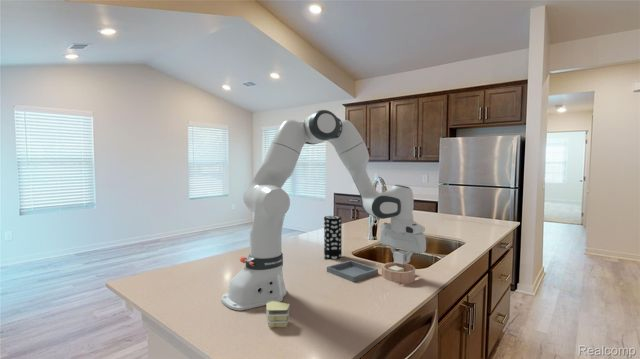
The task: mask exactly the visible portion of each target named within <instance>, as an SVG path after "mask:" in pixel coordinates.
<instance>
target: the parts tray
mask: <svg viewBox="0 0 640 359" xmlns="http://www.w3.org/2000/svg"><path fill="white" fill-rule="evenodd" d="M326 273H329V274H332V275H333V276H337V277H339V278H341V279H344V280H347V281H349V282H352V283H355V282H358V281H361V280H364V279H367V278H370V277H373V276H376V275H378V274H379V269H378V268H376V267H373V266H370V265H367V264H365V263H364V264H363V263H362V262H361V263H360V262H358V261H354V260H347V261H343V262H339V263H336V264H333V265H329V266H326Z"/></svg>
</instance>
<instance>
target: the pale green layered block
mask: <svg viewBox="0 0 640 359" xmlns="http://www.w3.org/2000/svg"><path fill="white" fill-rule="evenodd" d="M290 305H291V304H290V303H285V302H282V301H281V302H276V301H271V302H268V303H267V305H265V306H266V312H265V313H266V322H267V327H268V328H271V327H273V328H287V326H288V324H289V319H290V317H291V315H290V314H289V313H290V310H291V308H290Z"/></svg>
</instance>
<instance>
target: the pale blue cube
mask: <svg viewBox="0 0 640 359" xmlns="http://www.w3.org/2000/svg"><path fill="white" fill-rule="evenodd" d="M407 255H408V253H407V251H406V250H403V249H399V250H396V252H394V258H393V262H396V263H399V264H402V265H403V264H409V263H410V261H409V262H407V261H405V257H406V256H407Z"/></svg>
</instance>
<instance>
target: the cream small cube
mask: <svg viewBox="0 0 640 359" xmlns="http://www.w3.org/2000/svg"><path fill="white" fill-rule="evenodd" d="M388 270H390V271H395V272H404V268H402V267H398V266H392V267H389V268H388Z"/></svg>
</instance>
